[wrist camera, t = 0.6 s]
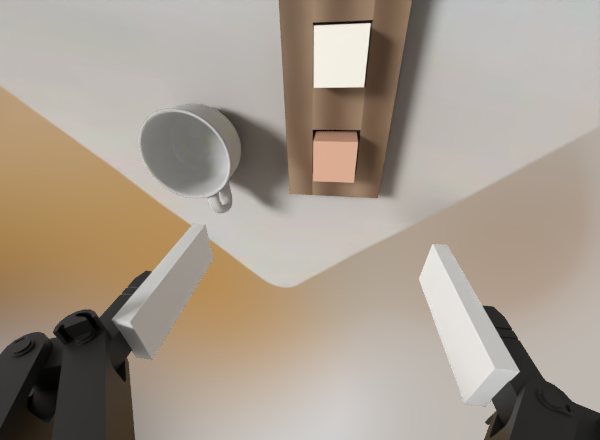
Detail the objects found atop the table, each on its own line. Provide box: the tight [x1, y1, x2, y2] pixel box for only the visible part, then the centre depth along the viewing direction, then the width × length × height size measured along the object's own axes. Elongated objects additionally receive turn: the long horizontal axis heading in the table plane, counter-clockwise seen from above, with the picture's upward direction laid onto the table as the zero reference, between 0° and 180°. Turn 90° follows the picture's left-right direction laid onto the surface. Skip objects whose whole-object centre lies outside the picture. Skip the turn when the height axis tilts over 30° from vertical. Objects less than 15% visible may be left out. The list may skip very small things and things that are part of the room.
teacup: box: [139, 104, 241, 213], centre depth 33 cm, size 14×11×8 cm
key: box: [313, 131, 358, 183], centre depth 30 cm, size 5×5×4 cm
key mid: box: [314, 23, 371, 88], centre depth 24 cm, size 5×5×4 cm
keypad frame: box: [279, 0, 412, 198], centre depth 27 cm, size 12×32×3 cm, turn 2°
